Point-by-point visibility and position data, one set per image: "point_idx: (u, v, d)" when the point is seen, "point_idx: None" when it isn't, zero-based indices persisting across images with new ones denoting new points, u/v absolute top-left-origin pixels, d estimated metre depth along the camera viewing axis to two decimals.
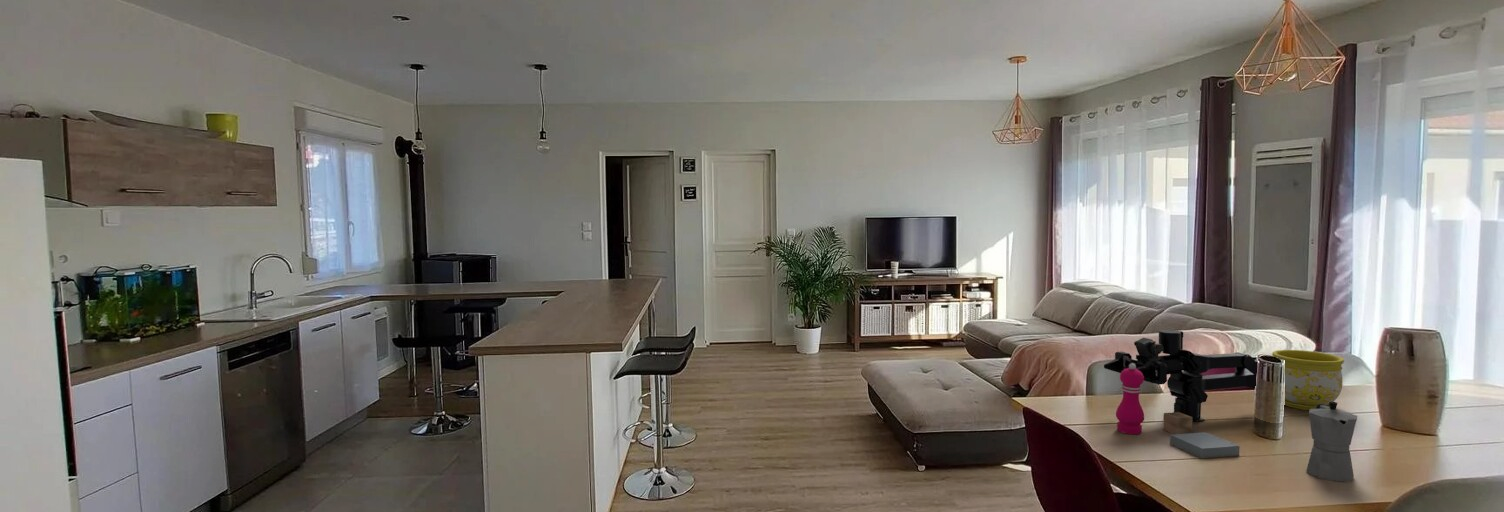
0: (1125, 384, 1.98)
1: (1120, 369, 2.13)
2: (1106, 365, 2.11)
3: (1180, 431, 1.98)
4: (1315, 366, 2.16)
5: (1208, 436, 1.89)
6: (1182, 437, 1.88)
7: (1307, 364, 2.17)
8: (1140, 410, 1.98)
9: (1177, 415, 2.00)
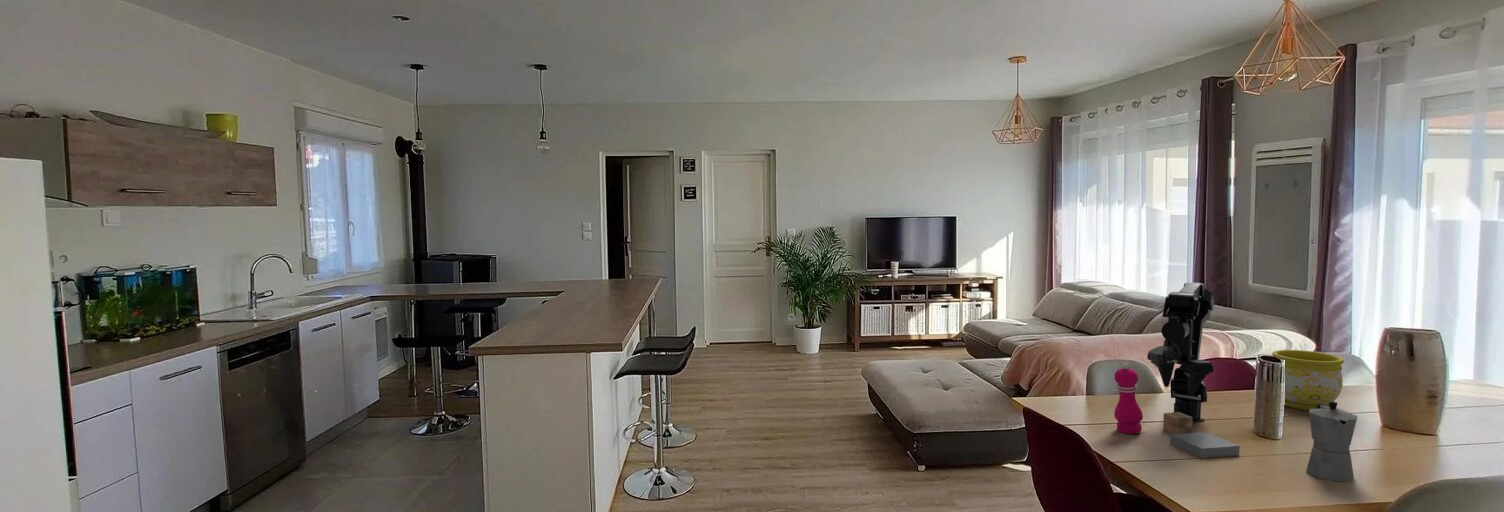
0: (1120, 384, 1.99)
1: (1170, 366, 2.05)
2: (1165, 384, 2.04)
3: (1180, 431, 1.98)
4: (1315, 366, 2.16)
5: (1208, 436, 1.89)
6: (1182, 437, 1.88)
7: (1307, 364, 2.17)
8: (1138, 409, 1.98)
9: (1177, 415, 2.00)
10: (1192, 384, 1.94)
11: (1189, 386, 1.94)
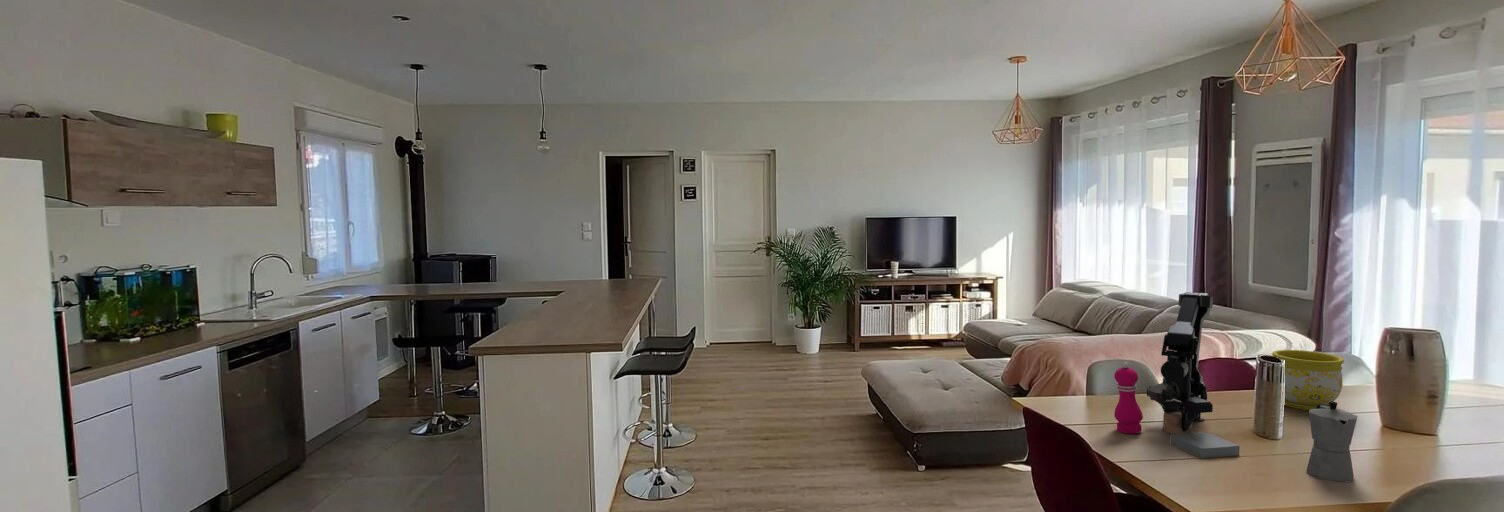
0: (1120, 383, 1.99)
1: (1174, 405, 2.03)
2: None
3: (1180, 430, 1.98)
4: (1315, 366, 2.16)
5: (1208, 436, 1.89)
6: (1182, 437, 1.88)
7: (1307, 364, 2.17)
8: (1138, 408, 1.99)
9: (1177, 415, 2.00)
10: (1186, 421, 1.97)
11: (1183, 423, 1.97)
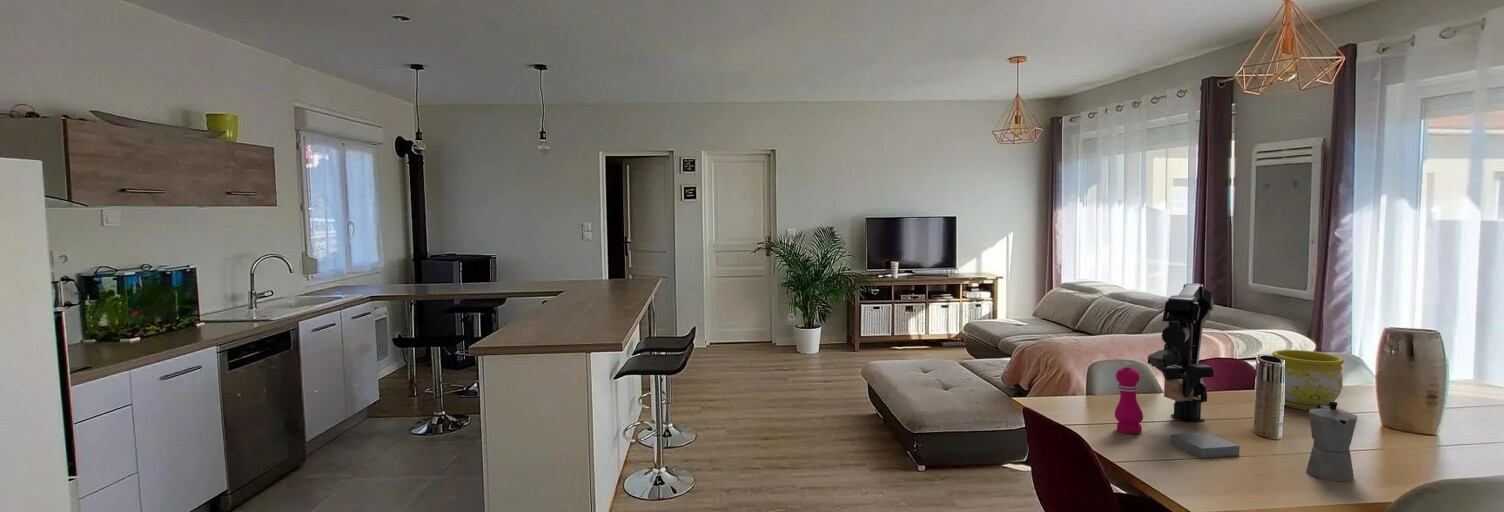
0: (1122, 383, 1.99)
1: (1175, 372, 2.03)
2: None
3: (1181, 396, 1.97)
4: (1315, 366, 2.16)
5: (1208, 436, 1.89)
6: (1182, 437, 1.88)
7: (1307, 364, 2.17)
8: (1139, 409, 1.99)
9: (1178, 381, 1.99)
10: (1187, 387, 1.96)
11: (1184, 389, 1.96)
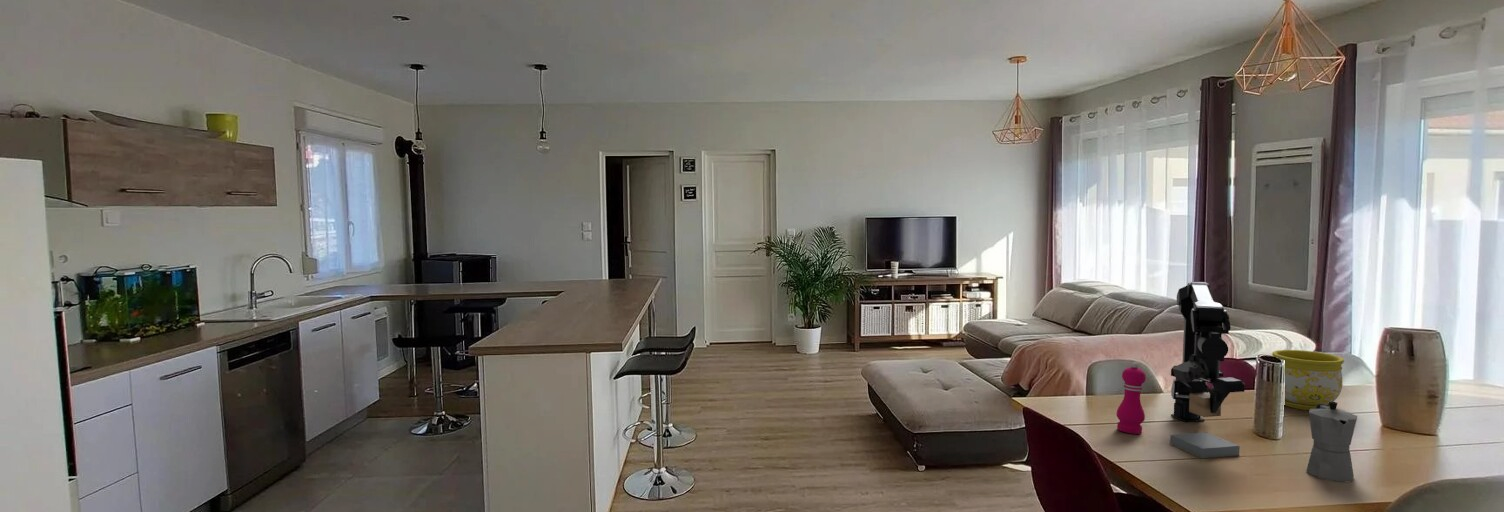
0: (1128, 382, 2.00)
1: (1201, 385, 1.88)
2: None
3: (1208, 412, 1.83)
4: (1315, 366, 2.16)
5: (1208, 436, 1.89)
6: (1182, 437, 1.88)
7: (1307, 364, 2.17)
8: (1141, 409, 1.99)
9: (1205, 395, 1.85)
10: (1215, 402, 1.81)
11: (1211, 404, 1.82)
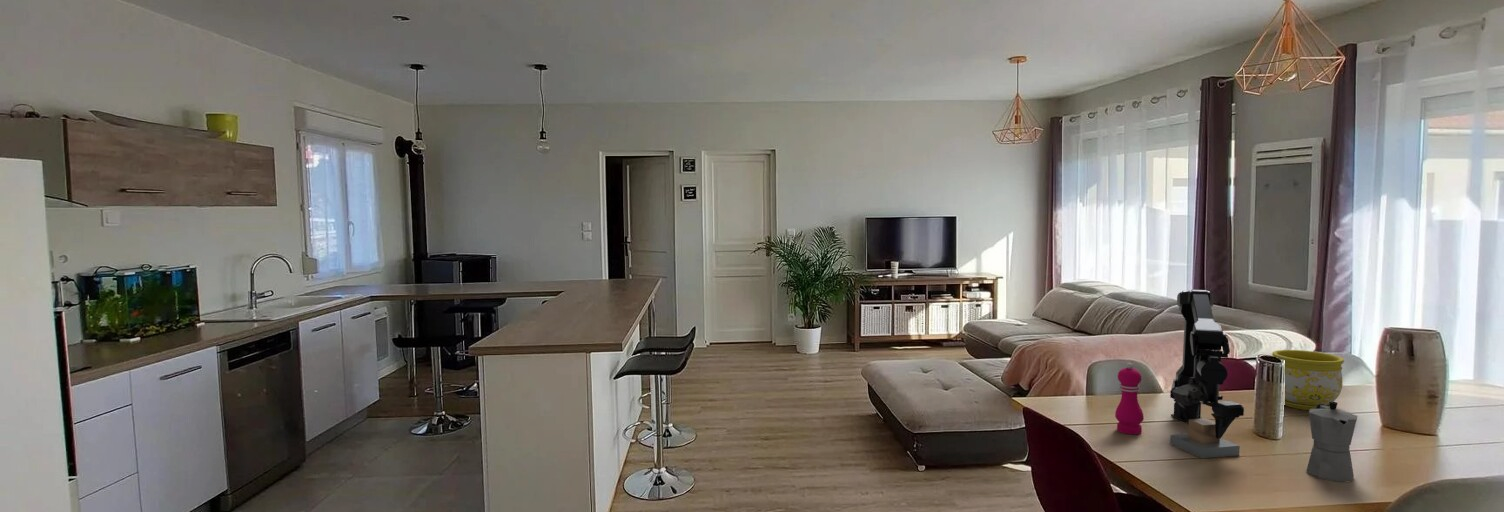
0: (1124, 384, 1.99)
1: (1195, 405, 1.91)
2: None
3: (1207, 439, 1.83)
4: (1315, 366, 2.16)
5: None
6: (1182, 437, 1.88)
7: (1307, 364, 2.17)
8: (1140, 409, 1.99)
9: (1204, 422, 1.85)
10: (1220, 427, 1.80)
11: (1217, 429, 1.80)
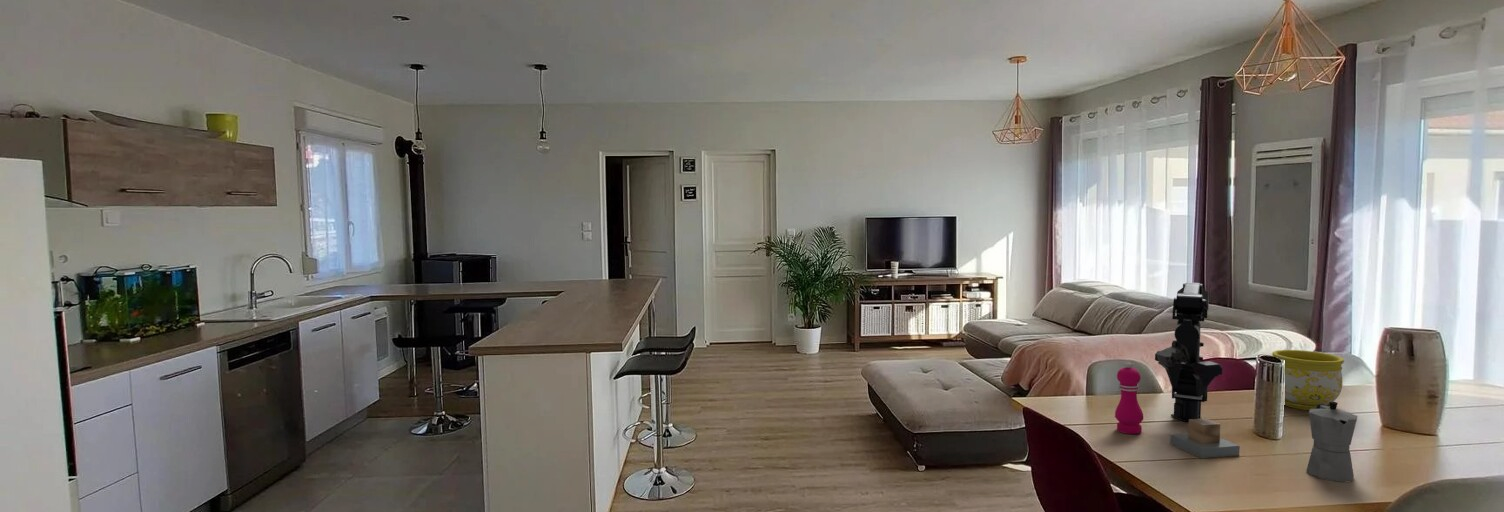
0: (1123, 383, 2.00)
1: (1178, 367, 2.04)
2: (1173, 385, 2.04)
3: (1207, 439, 1.83)
4: (1315, 366, 2.16)
5: None
6: (1182, 437, 1.88)
7: (1307, 364, 2.17)
8: (1139, 409, 1.99)
9: (1204, 422, 1.85)
10: (1201, 386, 1.93)
11: (1198, 388, 1.94)
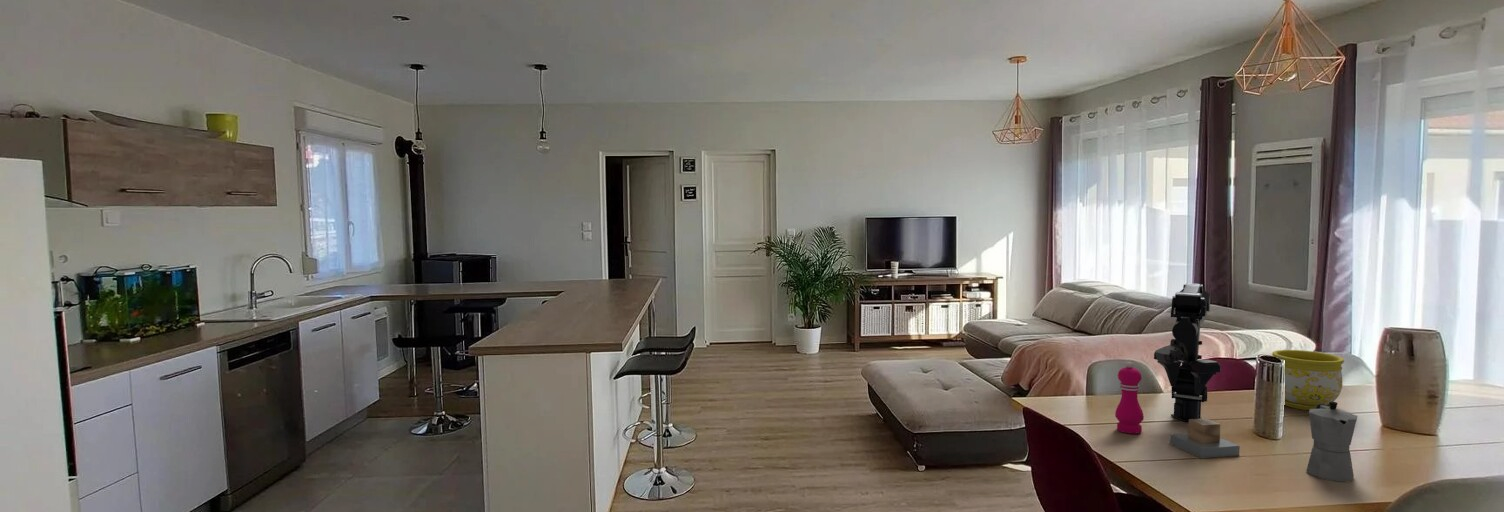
0: (1124, 382, 2.00)
1: (1177, 366, 2.05)
2: (1172, 384, 2.04)
3: (1207, 439, 1.83)
4: (1315, 366, 2.16)
5: None
6: (1182, 437, 1.88)
7: (1307, 364, 2.17)
8: (1140, 408, 1.99)
9: (1204, 422, 1.85)
10: (1199, 384, 1.94)
11: (1196, 386, 1.95)
